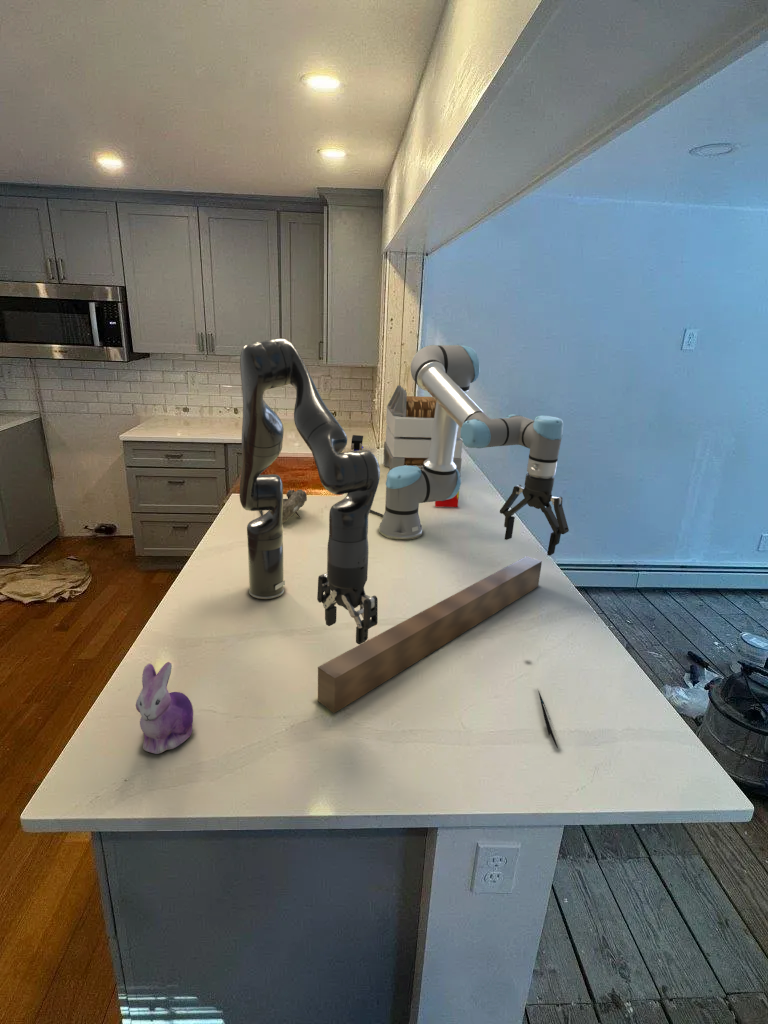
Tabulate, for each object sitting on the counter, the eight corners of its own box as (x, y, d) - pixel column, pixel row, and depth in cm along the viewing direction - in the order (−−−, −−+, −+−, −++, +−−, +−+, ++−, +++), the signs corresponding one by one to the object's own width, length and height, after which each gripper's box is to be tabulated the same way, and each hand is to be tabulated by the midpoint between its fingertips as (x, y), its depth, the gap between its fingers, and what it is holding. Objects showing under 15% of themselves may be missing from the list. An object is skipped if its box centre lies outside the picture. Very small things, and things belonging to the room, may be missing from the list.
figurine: (143, 764, 96) (134, 690, 91) (137, 726, 105) (128, 657, 100) (201, 747, 100) (195, 676, 95) (190, 712, 109) (184, 645, 104)
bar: (523, 580, 169) (526, 555, 166) (538, 586, 166) (542, 561, 163) (317, 701, 114) (317, 666, 111) (334, 713, 111) (334, 678, 108)
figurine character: (362, 456, 306) (363, 447, 319) (363, 443, 302) (363, 434, 316) (350, 456, 306) (351, 446, 319) (350, 442, 302) (351, 433, 316)
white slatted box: (382, 463, 289) (386, 382, 275) (445, 464, 293) (451, 384, 279) (390, 482, 257) (394, 392, 243) (460, 483, 261) (468, 394, 247)
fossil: (276, 495, 220) (305, 474, 215) (292, 513, 223) (321, 493, 218) (259, 520, 201) (291, 498, 196) (277, 540, 204) (309, 519, 199)
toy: (452, 465, 253) (463, 475, 224) (451, 495, 256) (461, 508, 227) (425, 464, 253) (433, 474, 224) (424, 494, 256) (431, 507, 226)
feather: (529, 666, 130) (534, 660, 129) (557, 753, 103) (564, 745, 103) (523, 662, 130) (528, 656, 129) (550, 748, 103) (556, 741, 103)
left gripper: (307, 550, 106) (307, 625, 112) (360, 577, 97) (357, 656, 103) (336, 540, 111) (335, 612, 117) (389, 564, 103) (385, 641, 108)
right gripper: (493, 466, 158) (484, 535, 166) (577, 489, 142) (563, 565, 150) (508, 461, 163) (498, 529, 171) (590, 483, 148) (576, 557, 155)
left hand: (345, 633), depth 110 cm, fingers open, 8 cm apart
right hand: (528, 546), depth 161 cm, fingers open, 13 cm apart
